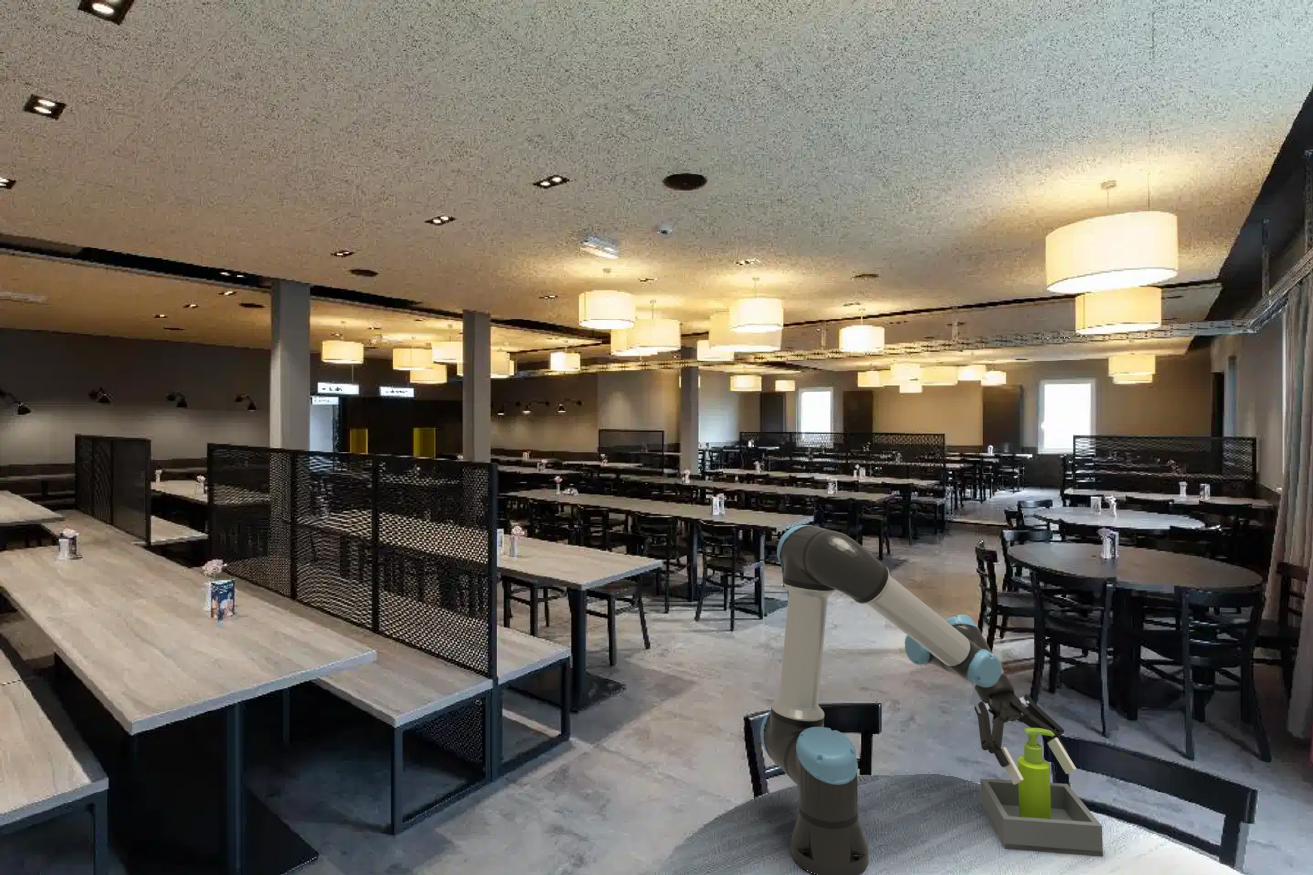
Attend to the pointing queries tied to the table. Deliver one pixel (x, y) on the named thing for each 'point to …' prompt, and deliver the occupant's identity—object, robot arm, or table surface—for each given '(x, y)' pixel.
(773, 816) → the table surface
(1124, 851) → the table surface
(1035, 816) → the soap dispenser
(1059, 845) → the crate
